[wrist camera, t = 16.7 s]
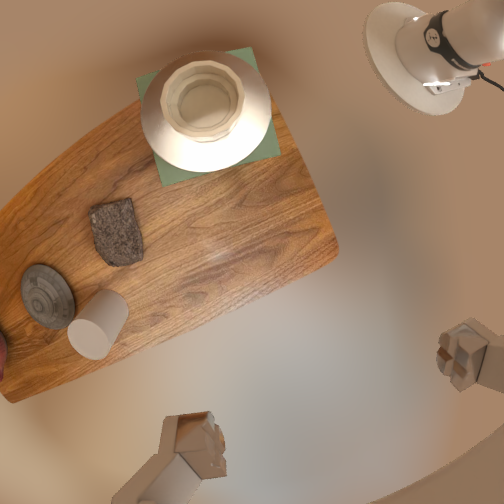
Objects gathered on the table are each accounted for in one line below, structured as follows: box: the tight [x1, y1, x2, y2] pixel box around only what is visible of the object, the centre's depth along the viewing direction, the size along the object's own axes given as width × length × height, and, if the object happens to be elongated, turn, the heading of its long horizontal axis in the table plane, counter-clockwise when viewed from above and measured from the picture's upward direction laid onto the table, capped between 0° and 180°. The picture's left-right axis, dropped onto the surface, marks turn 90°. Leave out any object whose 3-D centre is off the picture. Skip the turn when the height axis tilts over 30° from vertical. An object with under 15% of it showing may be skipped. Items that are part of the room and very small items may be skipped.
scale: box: [136, 47, 281, 187], centre depth 34 cm, size 12×13×23 cm
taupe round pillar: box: [68, 290, 129, 360], centre depth 47 cm, size 8×8×12 cm
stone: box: [88, 198, 143, 267], centre depth 47 cm, size 12×9×4 cm
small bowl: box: [160, 60, 245, 142], centre depth 21 cm, size 6×6×4 cm
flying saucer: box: [21, 264, 75, 329], centre depth 48 cm, size 15×15×6 cm
